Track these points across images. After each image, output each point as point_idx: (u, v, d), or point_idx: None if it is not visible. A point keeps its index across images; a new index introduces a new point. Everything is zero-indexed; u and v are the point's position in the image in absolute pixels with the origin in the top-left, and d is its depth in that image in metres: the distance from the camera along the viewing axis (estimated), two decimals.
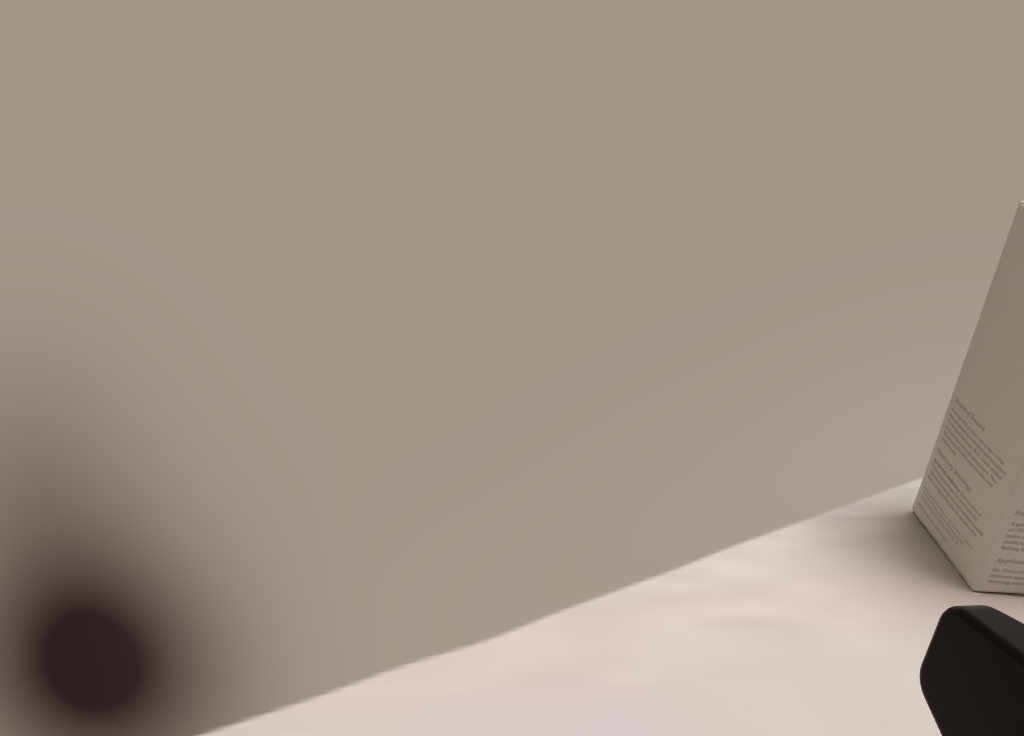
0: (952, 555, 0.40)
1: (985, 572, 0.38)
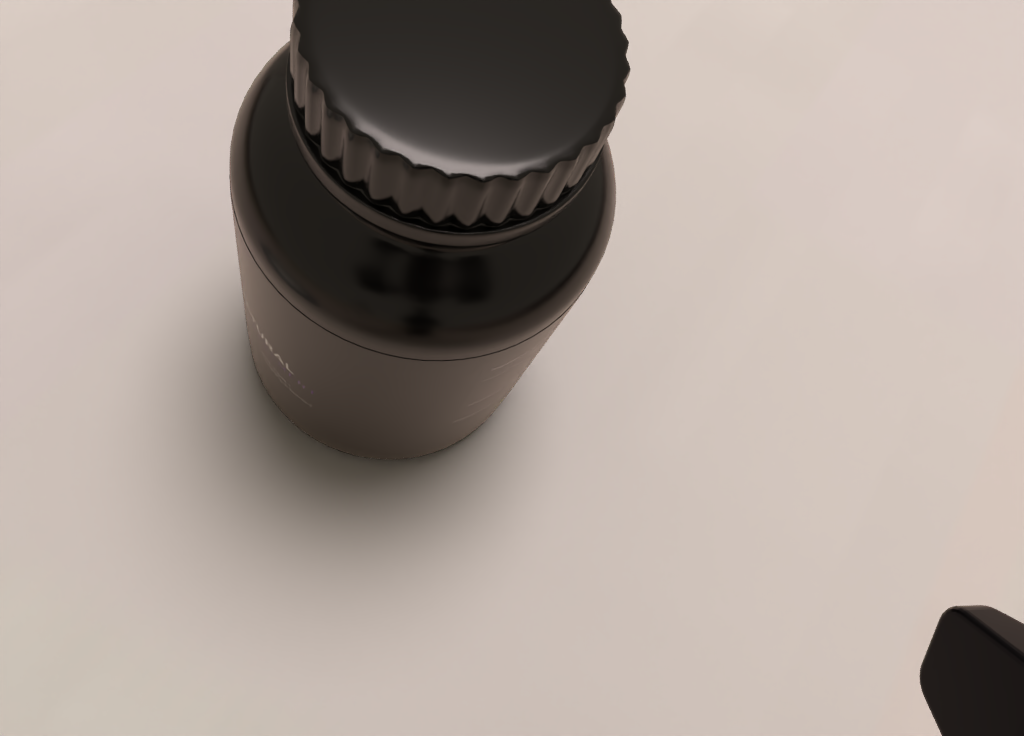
0: None
1: None
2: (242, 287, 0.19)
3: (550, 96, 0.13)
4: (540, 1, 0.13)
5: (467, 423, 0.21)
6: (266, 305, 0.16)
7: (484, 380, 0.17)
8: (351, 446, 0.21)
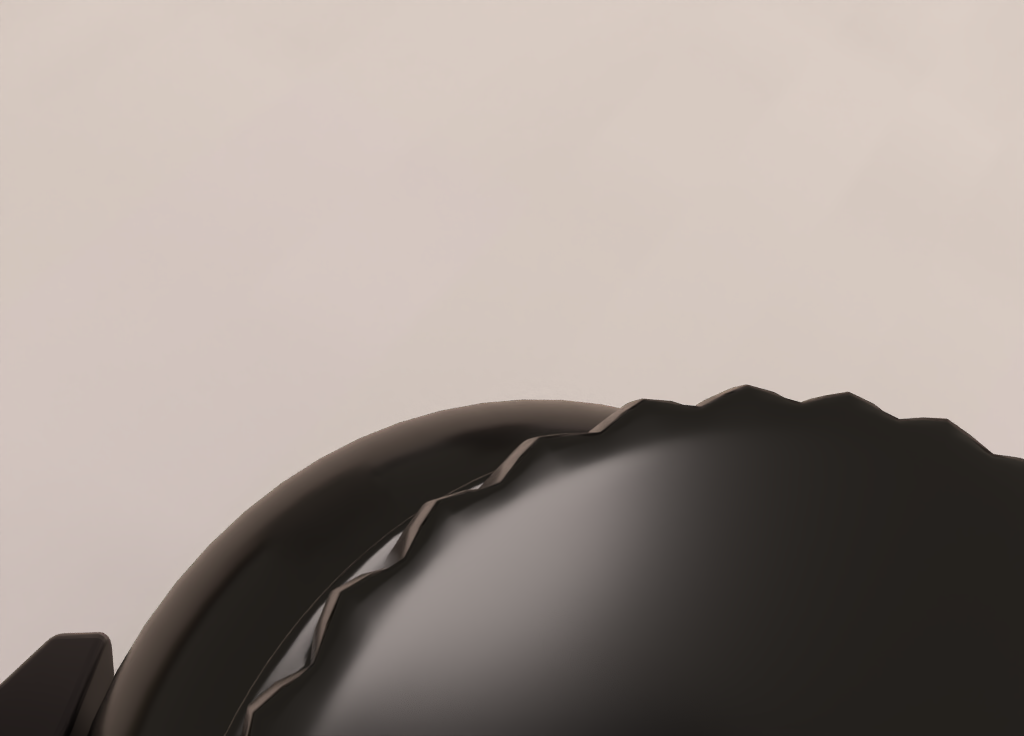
0: None
1: None
2: None
3: None
4: None
5: None
6: None
7: None
8: None
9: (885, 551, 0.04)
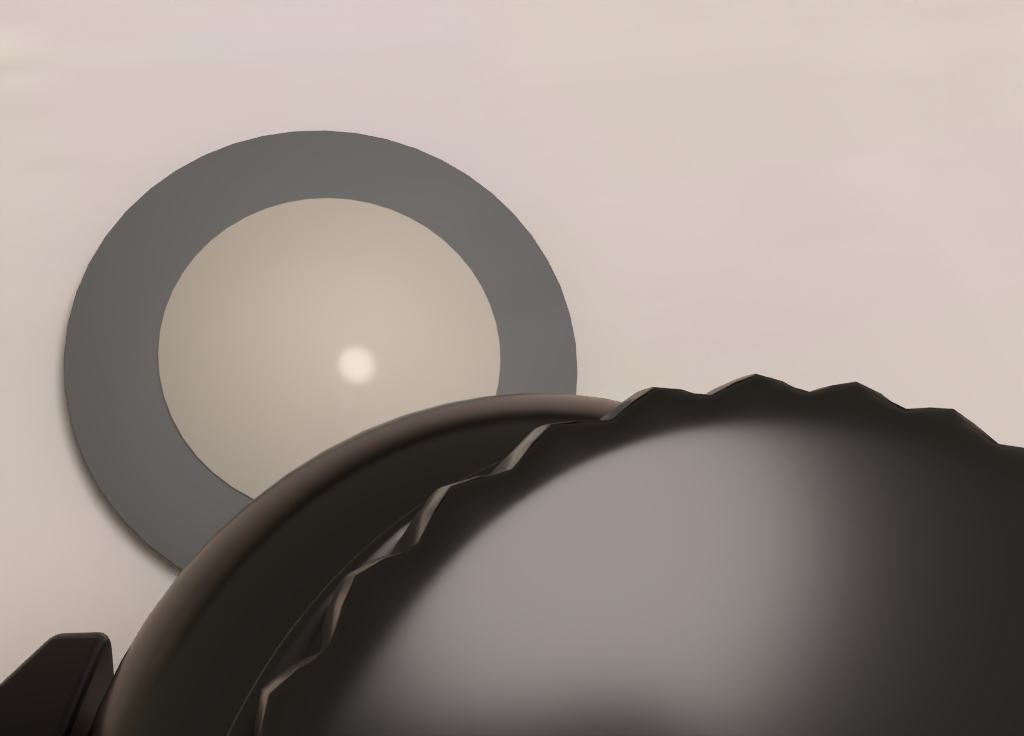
0: None
1: None
2: None
3: None
4: None
5: None
6: None
7: None
8: None
9: (892, 539, 0.04)
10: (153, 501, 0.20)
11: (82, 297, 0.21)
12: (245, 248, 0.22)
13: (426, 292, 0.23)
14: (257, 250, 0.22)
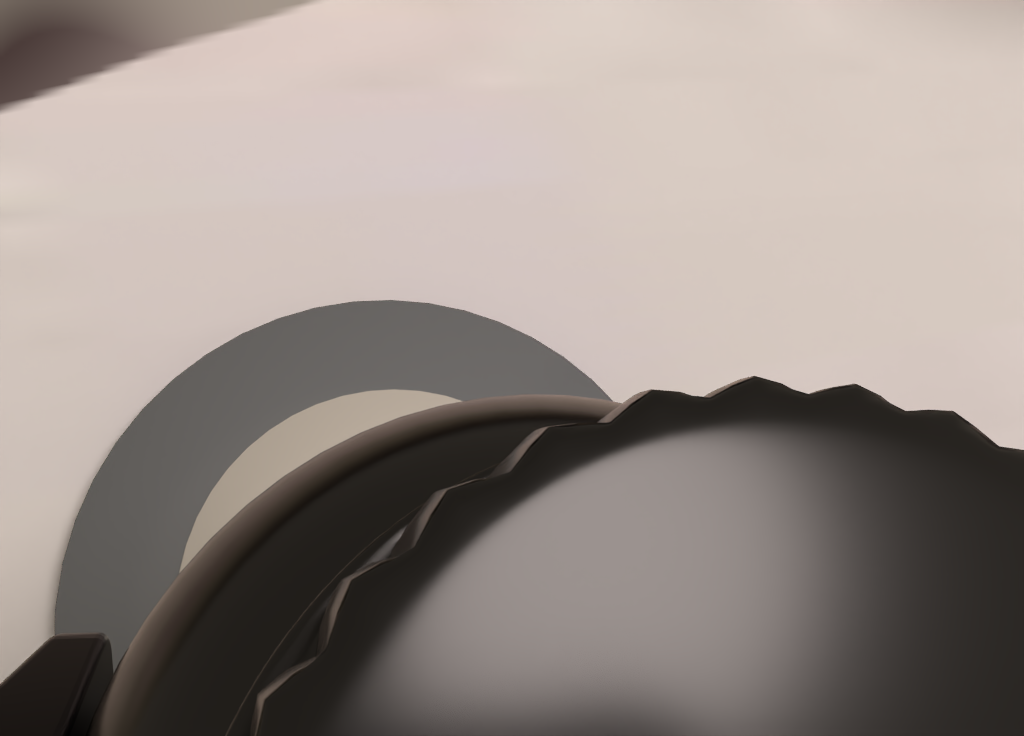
0: None
1: None
2: None
3: None
4: None
5: None
6: None
7: None
8: None
9: (892, 542, 0.04)
10: None
11: (83, 526, 0.17)
12: (289, 456, 0.18)
13: None
14: (304, 459, 0.18)
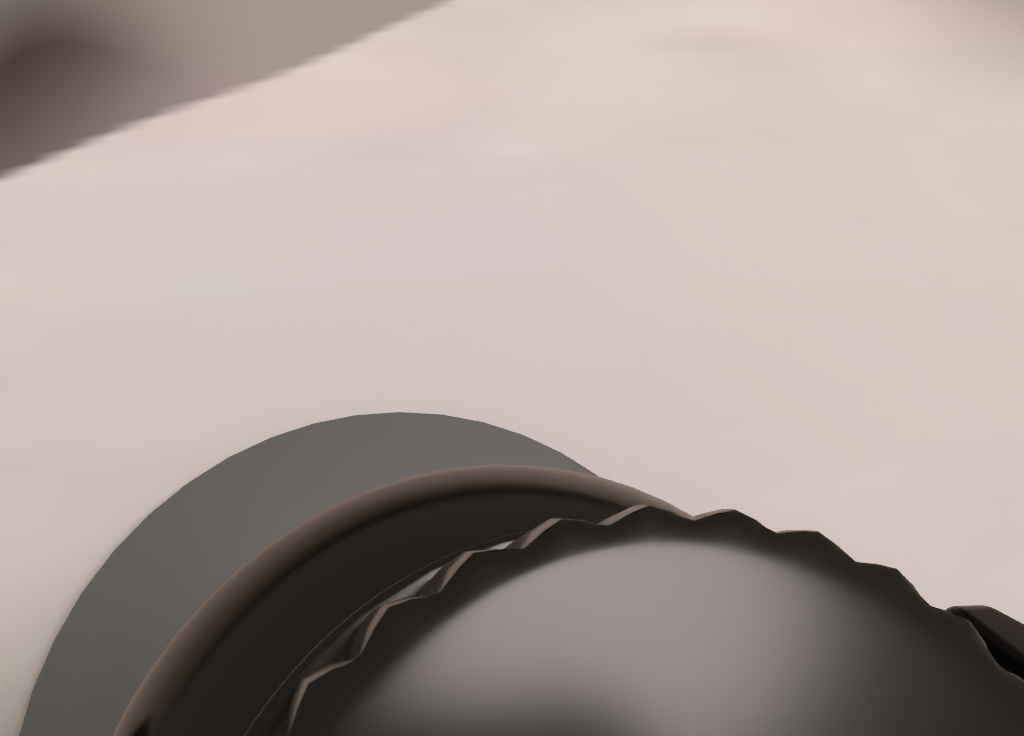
0: None
1: None
2: None
3: None
4: None
5: None
6: None
7: None
8: None
9: (757, 647, 0.04)
10: None
11: (41, 697, 0.14)
12: None
13: None
14: None
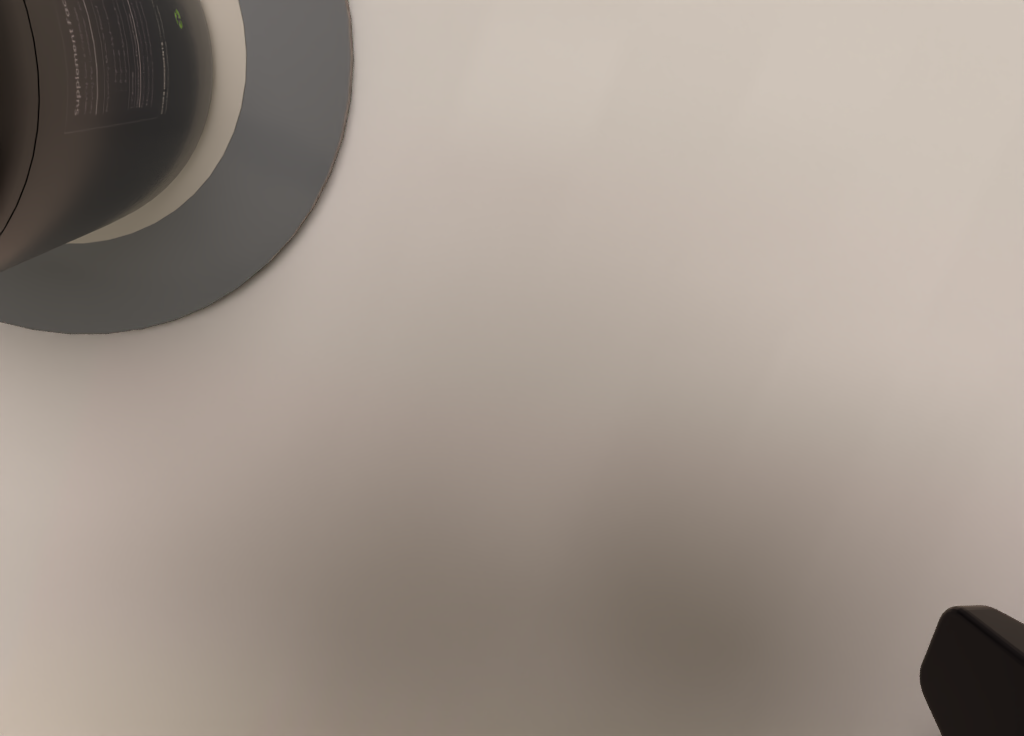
0: None
1: None
2: None
3: None
4: None
5: (180, 81, 0.16)
6: None
7: (94, 114, 0.12)
8: (148, 198, 0.18)
9: None
10: (108, 301, 0.20)
11: None
12: None
13: None
14: None
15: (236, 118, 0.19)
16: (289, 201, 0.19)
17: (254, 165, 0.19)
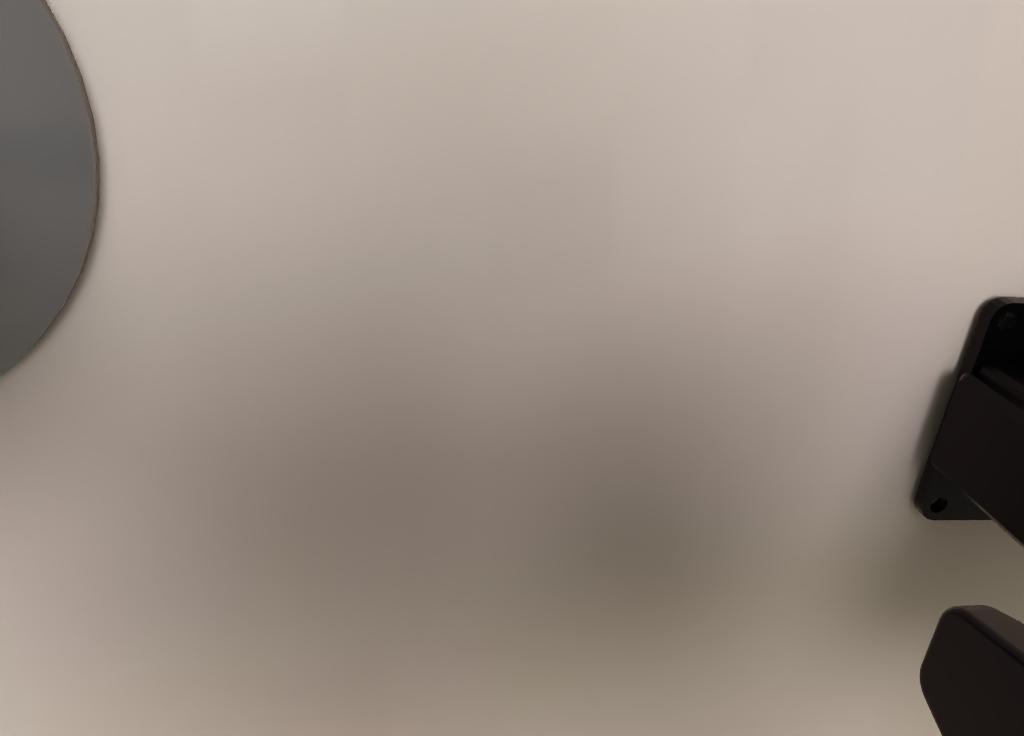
0: None
1: None
2: None
3: None
4: None
5: None
6: None
7: None
8: None
9: None
10: None
11: None
12: None
13: None
14: None
15: None
16: (68, 206, 0.18)
17: (14, 184, 0.17)
